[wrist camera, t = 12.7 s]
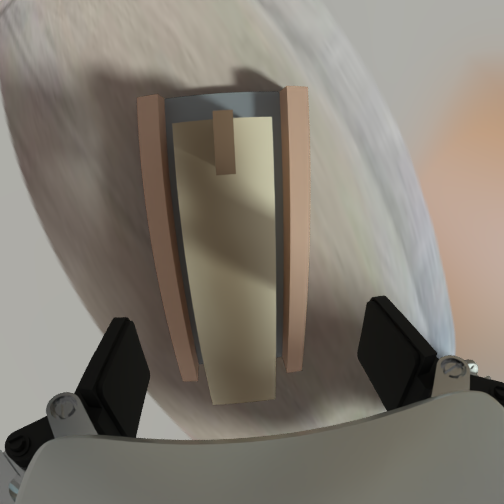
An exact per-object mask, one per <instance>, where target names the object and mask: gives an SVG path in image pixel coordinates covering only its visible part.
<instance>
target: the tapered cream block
mask: <svg viewBox="0 0 504 504" xmlns="http://www.w3.org/2000/svg"><path fill="white" fill-rule="evenodd" d="M172 126H173V142H174V156H175V169H176V180H177V190H178V200H179V210H180V218H181V227H182V235H183V243H184V250H185V258H186V265H187V272H188V278H189V285H190V291H191V297H192V303H193V309H194V315H195V321H196V326H197V332H198V337H199V342H200V348H201V353H202V358H203V362H204V367H205V372H206V377H207V381H208V386H209V390H210V395H211V399H212V403H213V405H222V404H236V403H247V402H257V401H265V400H273V399H275V391H276V238H275V191H274V158H273V131H272V117H243V118H233V110H218V111H213V119H210V120H199V121H189V122H180V123H172Z"/></svg>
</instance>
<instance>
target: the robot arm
mask: <svg viewBox="0 0 504 504" xmlns="http://www.w3.org/2000/svg"><path fill="white" fill-rule="evenodd" d="M357 354H358V359H359V361H360V363H361V365H362V366H363V368H364V370H365V372H366V374H367V375H368V377H369V379H370V381H371V383H372V384H373V386H374V388H375V390H376V392H377V393H378V395H379V397H380V399H381V401H382V403H383V404H384V406H385V408H386V410H387V412H383V413H380V414H377V415H373V416H369V417H366V418H362V419H358V420H354V421H350V422H346V423H341V424H337V425H332V426H327V427H322V428H317V429H312V430H306V431H300V432H294V433H287V434H279V435H271V436H262V437H252V438H239V439H221V440H165V439H145V438H136V434H137V430H138V425H139V421H140V416H141V412H142V408H143V404H144V399H145V395H146V391H147V387H148V384H149V380H150V371H149V368H148V365H147V362H146V360H145V357H144V354H143V351H142V348H141V344H140V341H139V338H138V335H137V332H136V328H135V325H134V322H133V321H130V320H129V319H128V318H127V317H123V318H114V319H113V320H112V322H111V323H110V325H109V327H108V329H107V331H106V333H105V334H104V336H103V338H102V340H101V342H100V344H99V346H98V348H97V350H96V351H95V353H94V355H93V357H92V358H91V360H90V362H89V365H88V366H87V368H86V370H85V372H84V374H83V377H82V378H81V381H80V383H79V385H78V387H77V389H76V391H75V393H74V394H73V393H69V392H64V393H60V394H58V395H56V396H54V397H53V398H52V399H51V400H50V401H49V403H48V405H47V408H46V413H47V416H46V417H44V418H42V419H40V420H38V421H35V422H33V423H31V424H29V425H27V426H25V427H23V428H21V429H19V430H17V431H15V432H13V433H11V434H10V435H9V436H8V438H7V440H6V442H5V452H2V451H1V450H0V504H504V383H502V382H499V381H495V380H491V377H490V376H487V377H485V378H483V377H479V376H478V375H477V373H478V366H477V364H476V363H475V362H474V361H473V360H463V359H461V358H460V357H457V356H452V355H448V356H444V357H441V358H440V359H438V358H437V357H436V355H437V352H436V351H435V350H434V349H433V348H432V347H431V345H430V344H429V343H428V342H427V341H426V340H425V339H424V337H423V336H422V335H421V334H420V333H419V332H418V331H417V330H416V328H415V327H414V326H413V325H412V324H411V323H410V322H409V321H408V320H407V318H406V317H405V316H404V315H403V314H402V313H401V312H400V311H399V310H398V309H397V308H396V307H395V305H394V304H393V303H392V302H391V301H390V300H389V299H388V298H387V297H386V296H378V297H372V298H371V300H370V301H369V302H367V305H366V311H365V317H364V322H363V327H362V333H361V338H360V342H359V347H358V353H357Z"/></svg>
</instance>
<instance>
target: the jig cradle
mask: <svg viewBox="0 0 504 504" xmlns="http://www.w3.org/2000/svg"><path fill="white" fill-rule="evenodd" d="M218 110H233V118H243V117H272V131H273V158H274V191H275V238H276V357H282V358H283V361H284V364H285V368H286V371H287V373H290V372H297V371H302V362H303V351H304V339H305V325H306V310H307V294H308V273H309V247H310V129H309V103H308V87H301V86H286V87H285V88H283V89H282V90H281V91H280V92H233V93H216V94H203V95H193V96H184V97H175V98H168V99H164V98H162V97H161V96H160V95H159V94H154V95H148V96H142V97H137V116H138V134H139V148H140V159H141V170H142V180H143V189H144V197H145V205H146V212H147V219H148V226H149V233H150V239H151V245H152V251H153V256H154V262H155V267H156V273H157V278H158V283H159V288H160V293H161V297H162V302H163V306H164V311H165V315H166V320H167V324H168V328H169V332H170V336H171V340H172V344H173V348H174V351H175V355H176V359H177V362H178V366H179V370H180V373H181V377H182V380H183V382H188V381H198V370H199V364H204V362H203V358H202V353H201V348H200V342H199V337H198V332H197V326H196V321H195V315H194V309H193V303H192V297H191V291H190V285H189V278H188V272H187V265H186V258H185V250H184V243H183V235H182V227H181V218H180V210H179V200H178V190H177V180H176V169H175V156H174V142H173V126H172V123H180V122H189V121H199V120H210V119H213V111H218Z"/></svg>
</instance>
